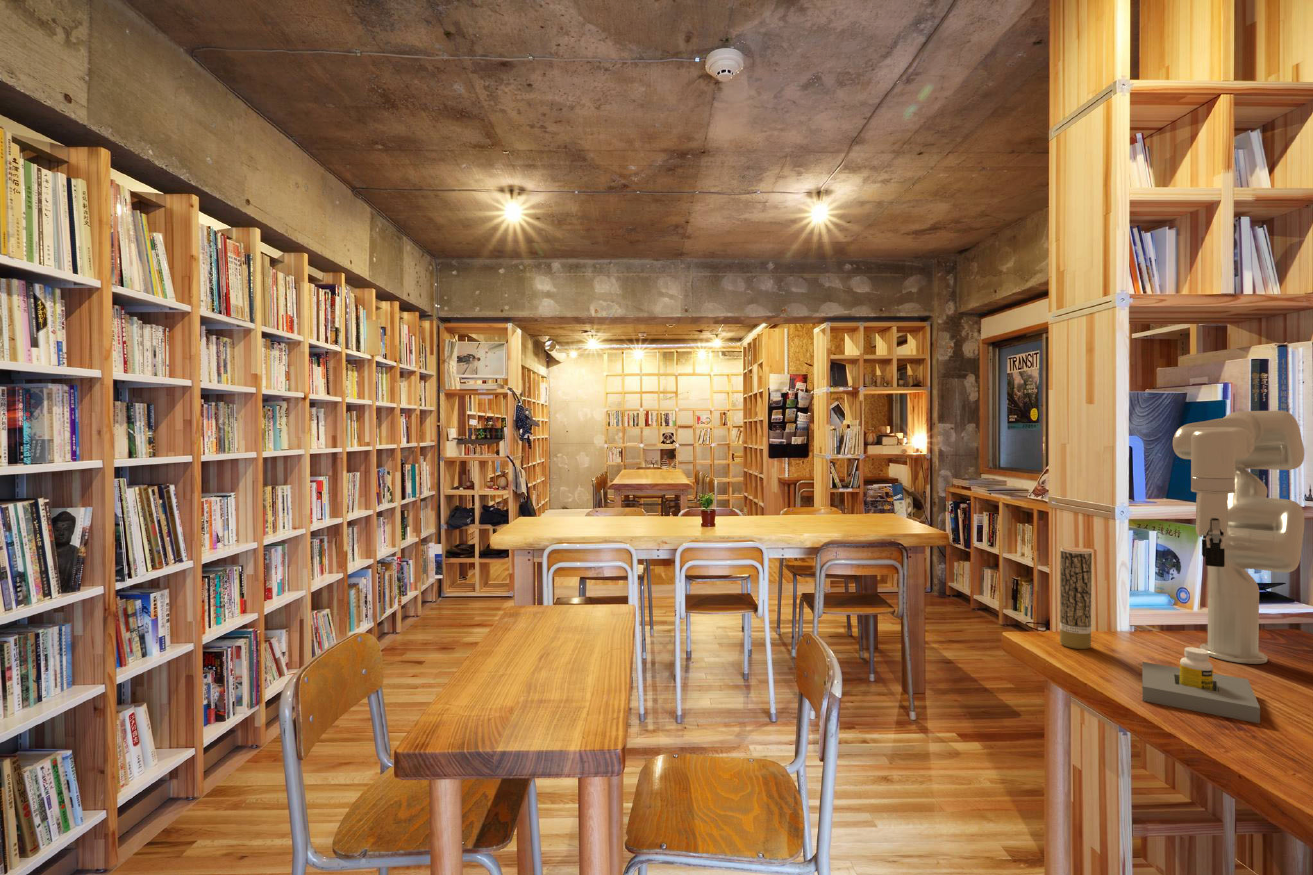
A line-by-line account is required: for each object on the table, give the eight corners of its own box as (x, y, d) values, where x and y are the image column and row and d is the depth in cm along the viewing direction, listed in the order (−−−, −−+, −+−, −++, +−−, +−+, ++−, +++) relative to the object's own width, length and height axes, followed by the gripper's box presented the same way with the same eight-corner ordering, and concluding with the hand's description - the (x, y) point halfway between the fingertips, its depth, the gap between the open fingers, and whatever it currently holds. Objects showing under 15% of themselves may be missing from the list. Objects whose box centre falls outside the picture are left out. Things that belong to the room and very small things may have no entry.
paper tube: (1095, 651, 168) (1096, 552, 168) (1066, 649, 169) (1066, 551, 169) (1084, 642, 174) (1084, 547, 174) (1055, 641, 176) (1056, 546, 176)
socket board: (1142, 674, 151) (1142, 661, 151) (1247, 693, 141) (1247, 679, 141) (1142, 700, 137) (1142, 686, 137) (1259, 723, 126) (1260, 707, 126)
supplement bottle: (1204, 704, 135) (1205, 656, 135) (1174, 694, 140) (1174, 648, 140) (1217, 699, 138) (1218, 651, 138) (1187, 689, 143) (1187, 644, 143)
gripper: (1188, 480, 157) (1189, 552, 158) (1193, 489, 143) (1193, 568, 144) (1230, 481, 153) (1230, 555, 153) (1239, 490, 139) (1239, 572, 139)
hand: (1212, 561), depth 149 cm, fingers open, 9 cm apart
